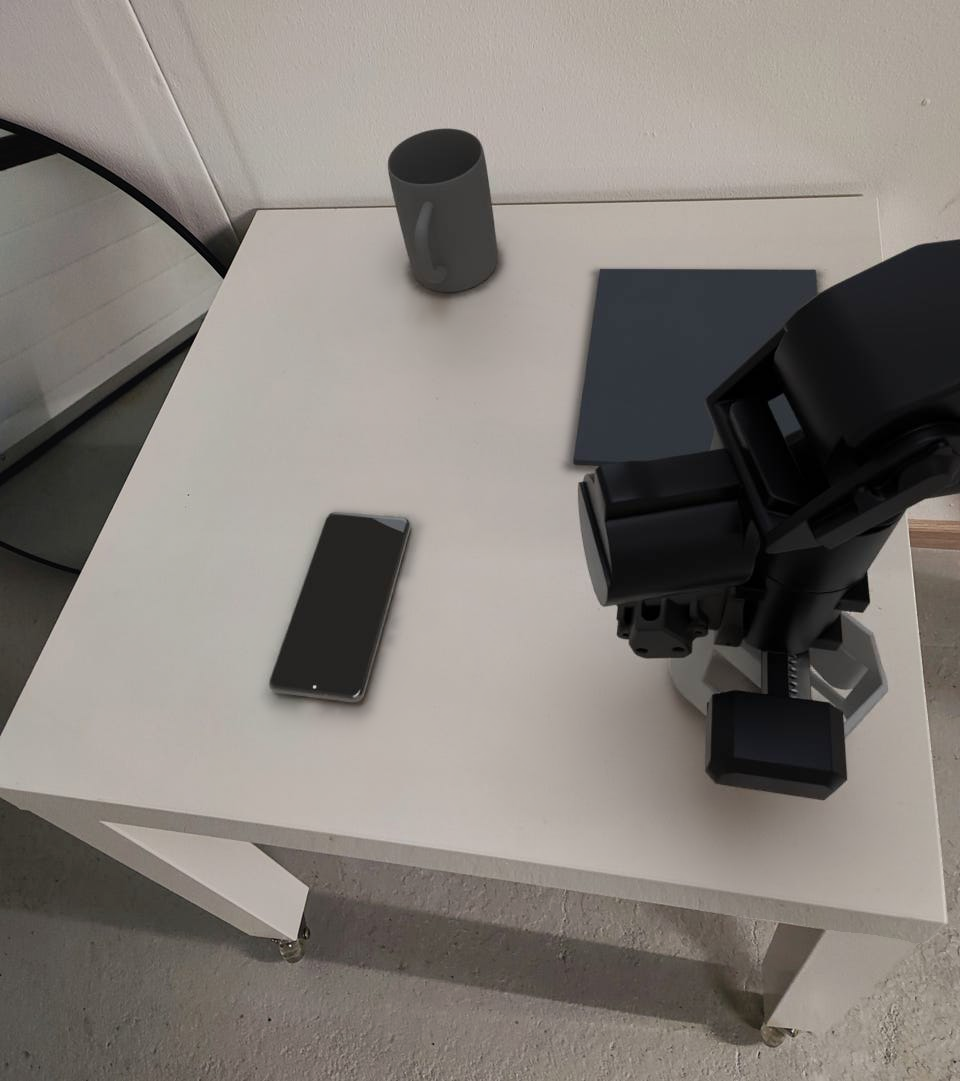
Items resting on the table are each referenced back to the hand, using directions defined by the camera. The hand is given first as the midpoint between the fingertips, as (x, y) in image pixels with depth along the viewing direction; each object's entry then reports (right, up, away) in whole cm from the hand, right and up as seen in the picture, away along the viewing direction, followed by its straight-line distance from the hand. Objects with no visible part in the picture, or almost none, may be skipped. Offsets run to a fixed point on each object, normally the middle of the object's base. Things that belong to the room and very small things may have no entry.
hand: (741, 675), depth 50 cm
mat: (+3, +24, +21) cm, 32 cm away
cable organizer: (+2, -3, +4) cm, 5 cm away
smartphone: (-27, +3, +13) cm, 30 cm away
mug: (-19, +35, +32) cm, 51 cm away
